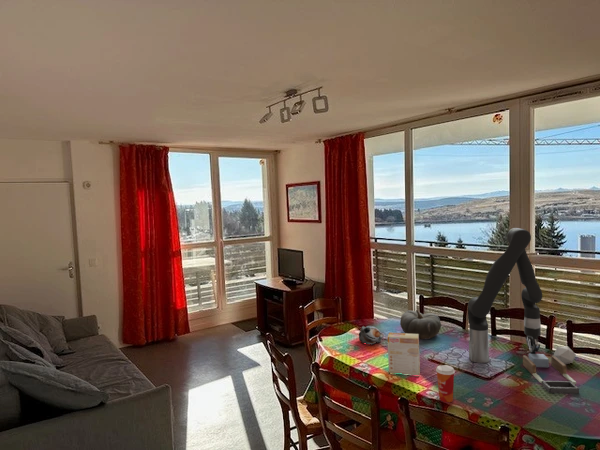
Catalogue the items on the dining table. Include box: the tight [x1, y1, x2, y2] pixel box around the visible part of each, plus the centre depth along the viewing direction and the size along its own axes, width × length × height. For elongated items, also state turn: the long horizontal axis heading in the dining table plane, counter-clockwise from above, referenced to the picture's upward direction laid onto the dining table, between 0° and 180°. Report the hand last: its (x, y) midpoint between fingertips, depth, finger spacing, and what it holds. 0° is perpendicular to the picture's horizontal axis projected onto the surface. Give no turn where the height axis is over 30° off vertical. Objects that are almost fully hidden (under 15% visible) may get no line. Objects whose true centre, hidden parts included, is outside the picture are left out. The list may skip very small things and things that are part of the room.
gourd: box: [399, 309, 442, 340], centre depth 257 cm, size 25×25×17 cm
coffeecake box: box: [387, 332, 421, 376], centre depth 203 cm, size 15×7×20 cm, turn 71°
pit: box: [541, 380, 580, 395], centre depth 178 cm, size 12×7×2 cm, turn 81°
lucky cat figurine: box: [358, 325, 385, 345], centre depth 247 cm, size 15×12×14 cm
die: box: [552, 345, 577, 365], centre depth 206 cm, size 8×9×10 cm
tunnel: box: [522, 355, 567, 376], centre depth 199 cm, size 15×12×5 cm
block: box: [528, 353, 550, 368], centre depth 206 cm, size 7×7×4 cm
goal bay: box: [532, 372, 577, 385], centre depth 189 cm, size 15×9×1 cm, turn 81°
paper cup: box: [435, 364, 456, 403], centre depth 174 cm, size 8×8×14 cm
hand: (532, 357), depth 212 cm, fingers closed
